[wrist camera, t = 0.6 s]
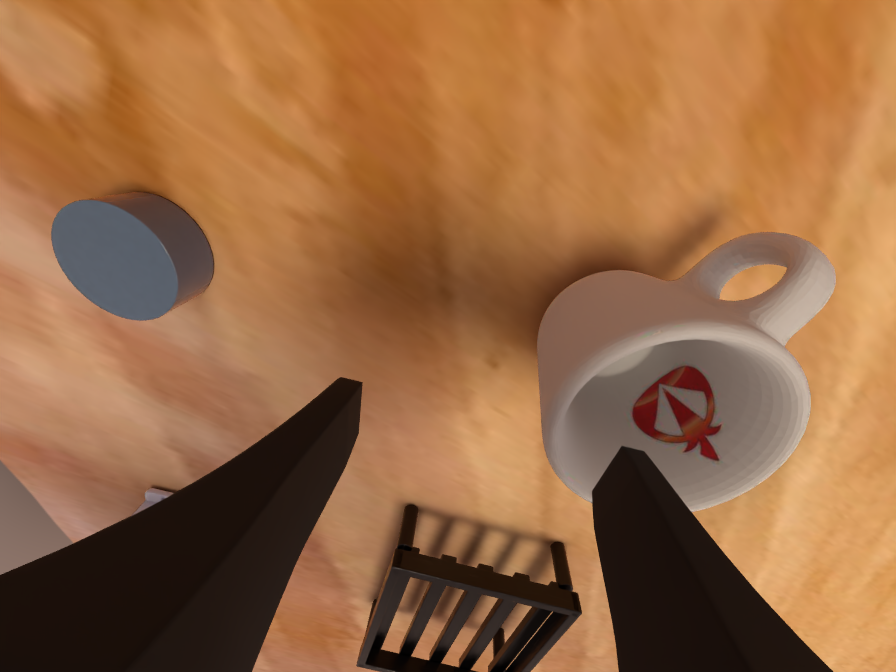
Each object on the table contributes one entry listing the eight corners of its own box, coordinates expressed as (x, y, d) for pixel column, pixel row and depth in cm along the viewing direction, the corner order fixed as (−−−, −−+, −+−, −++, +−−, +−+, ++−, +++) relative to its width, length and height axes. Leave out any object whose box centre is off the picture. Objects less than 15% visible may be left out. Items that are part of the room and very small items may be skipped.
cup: (660, 154, 15) (813, 168, 8) (777, 271, 17) (986, 365, 10) (489, 336, 20) (494, 446, 13) (597, 413, 22) (653, 547, 14)
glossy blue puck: (112, 283, 20) (65, 302, 18) (94, 176, 17) (36, 182, 15) (215, 312, 20) (181, 334, 18) (212, 211, 18) (172, 221, 16)
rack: (371, 603, 33) (356, 666, 29) (405, 502, 26) (391, 566, 22) (502, 634, 34) (505, 700, 30) (567, 543, 27) (582, 613, 23)
